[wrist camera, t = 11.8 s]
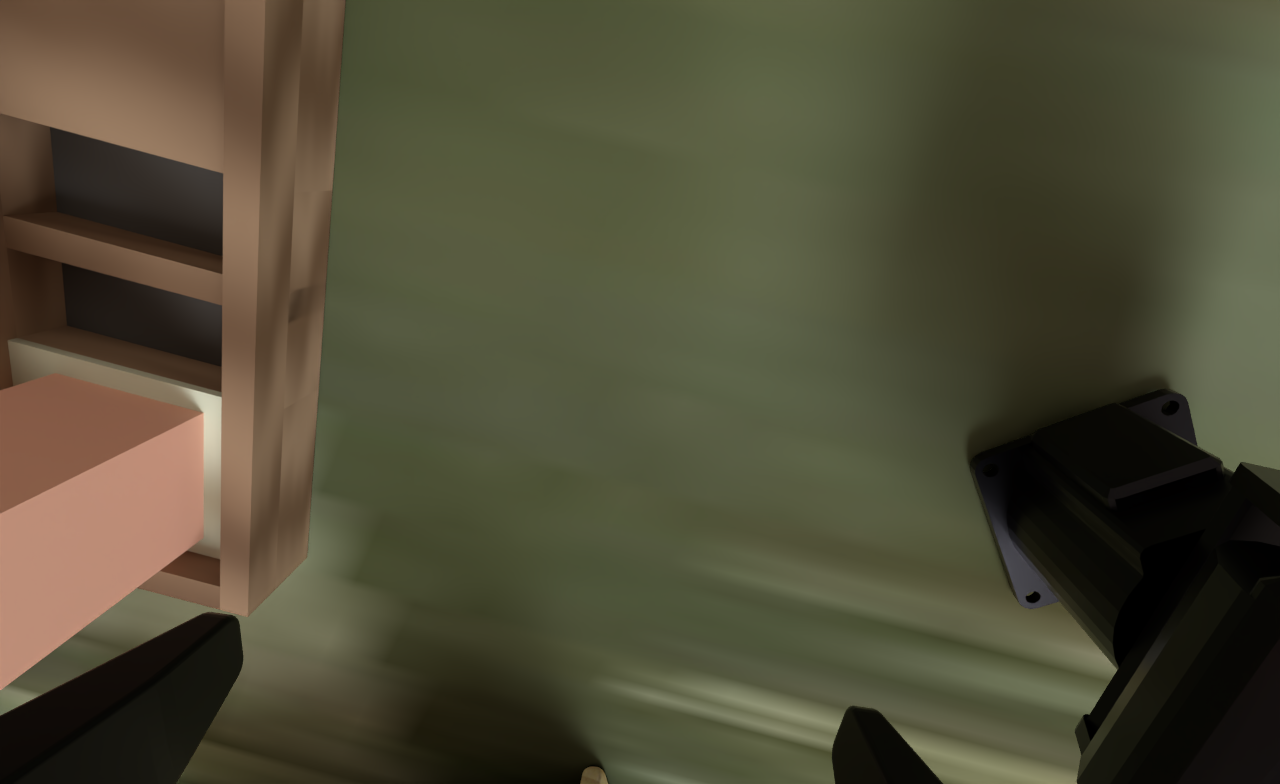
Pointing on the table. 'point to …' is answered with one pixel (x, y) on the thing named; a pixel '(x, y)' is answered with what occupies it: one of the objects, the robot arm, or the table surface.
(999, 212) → the table surface
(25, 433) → the coral block
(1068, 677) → the table surface
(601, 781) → the toy sofa
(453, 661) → the table surface
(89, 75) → the box
